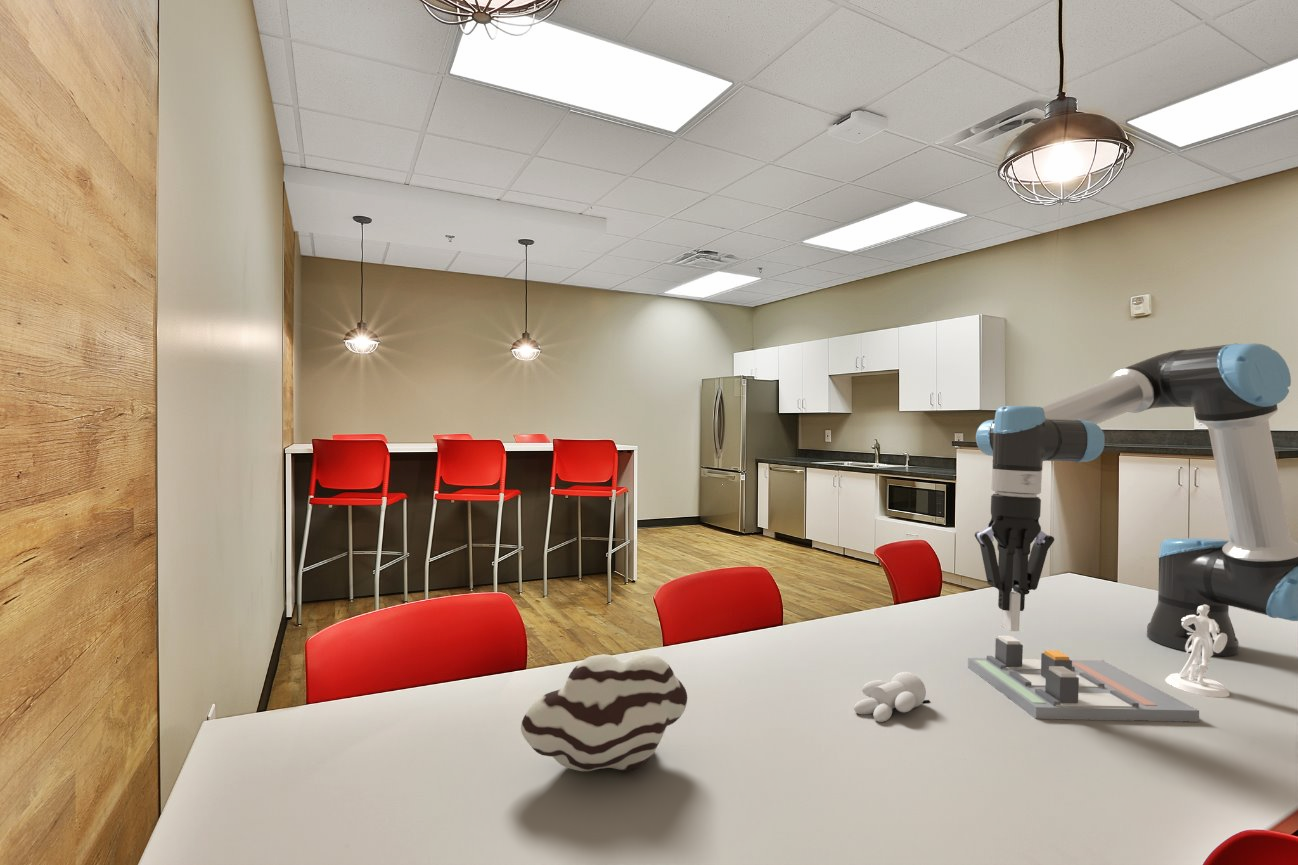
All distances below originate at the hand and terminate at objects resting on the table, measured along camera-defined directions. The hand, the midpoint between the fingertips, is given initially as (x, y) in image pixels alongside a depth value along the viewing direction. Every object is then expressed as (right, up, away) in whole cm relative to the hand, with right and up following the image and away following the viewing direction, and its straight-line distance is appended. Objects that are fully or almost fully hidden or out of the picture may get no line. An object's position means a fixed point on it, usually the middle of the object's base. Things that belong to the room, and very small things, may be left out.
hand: (1010, 628), depth 110 cm
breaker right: (+4, -9, -7) cm, 12 cm away
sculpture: (-69, -10, -28) cm, 75 cm away
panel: (+11, -11, 0) cm, 16 cm away
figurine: (+36, -12, +4) cm, 38 cm away
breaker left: (+4, -9, +8) cm, 12 cm away
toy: (-23, -11, -8) cm, 27 cm away
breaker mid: (+8, -9, 0) cm, 12 cm away
